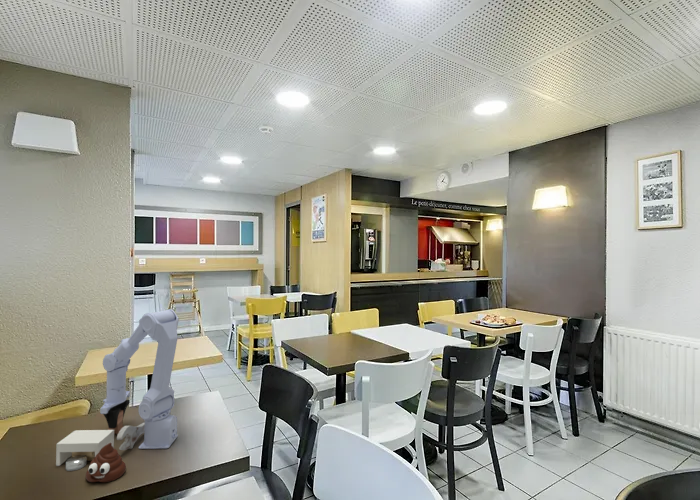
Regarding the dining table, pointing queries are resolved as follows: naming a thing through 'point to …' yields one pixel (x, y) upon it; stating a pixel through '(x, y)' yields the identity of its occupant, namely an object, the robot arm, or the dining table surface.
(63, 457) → the white step stool
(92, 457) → the push blade
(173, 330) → the robot arm
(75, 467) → the steel token
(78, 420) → the dining table surface
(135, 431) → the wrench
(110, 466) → the poop emoji
